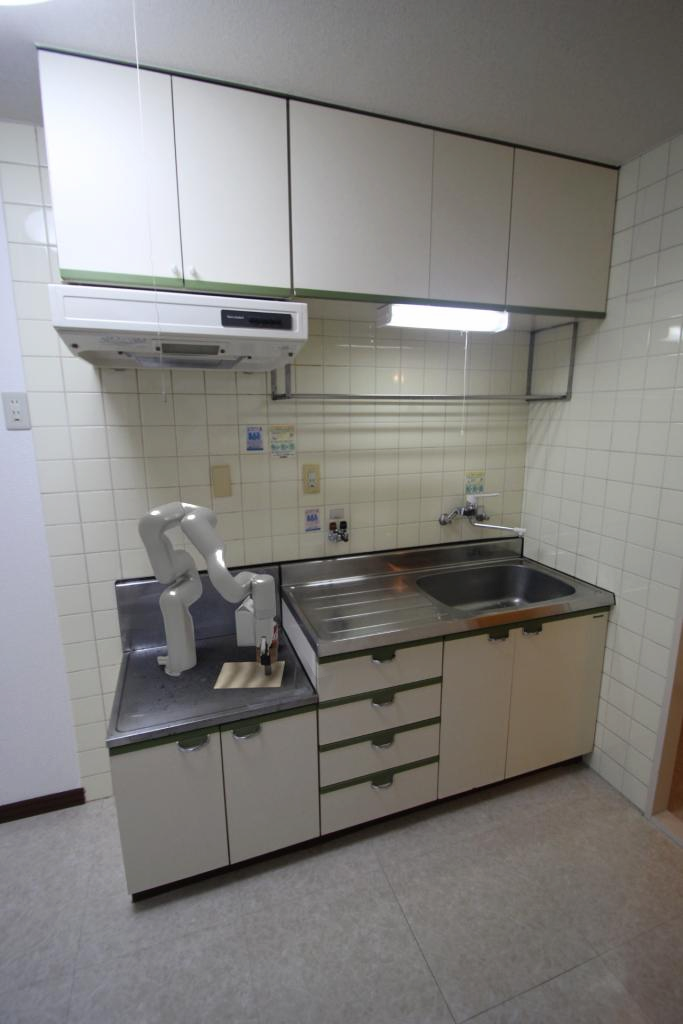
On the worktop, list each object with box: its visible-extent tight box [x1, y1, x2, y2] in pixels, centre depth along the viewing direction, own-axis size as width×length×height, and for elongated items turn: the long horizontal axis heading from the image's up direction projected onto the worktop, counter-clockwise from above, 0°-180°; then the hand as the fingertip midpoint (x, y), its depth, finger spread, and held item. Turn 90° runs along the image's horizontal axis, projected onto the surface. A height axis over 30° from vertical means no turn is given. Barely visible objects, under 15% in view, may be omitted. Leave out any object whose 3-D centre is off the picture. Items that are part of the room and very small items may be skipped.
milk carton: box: [234, 594, 257, 647], centre depth 185 cm, size 7×7×19 cm
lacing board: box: [213, 660, 286, 690], centre depth 161 cm, size 22×16×9 cm
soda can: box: [272, 620, 279, 652], centre depth 178 cm, size 7×7×12 cm
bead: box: [255, 641, 278, 664], centre depth 160 cm, size 7×7×5 cm
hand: (267, 658), depth 161 cm, fingers closed on bead, 6 cm apart
